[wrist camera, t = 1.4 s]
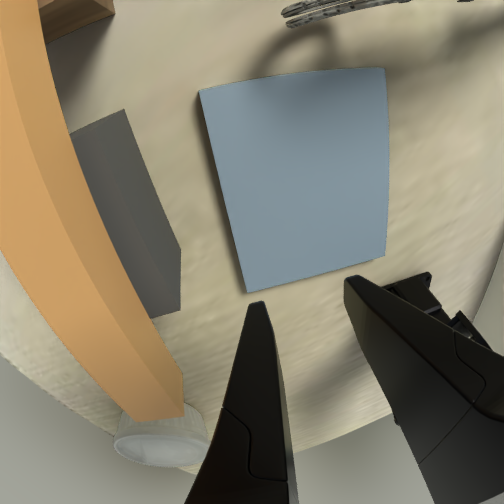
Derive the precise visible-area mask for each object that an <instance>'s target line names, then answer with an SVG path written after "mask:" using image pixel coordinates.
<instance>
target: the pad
mask: <svg viewBox="0 0 504 504" xmlns="http://www.w3.org/2000/svg"><path fill="white" fill-rule="evenodd" d="M199 95H200V99H201V103H202V108H203V112H204V116H205V121H206V125H207V129H208V133H209V138H210V142H211V146H212V150H213V155H214V159H215V163H216V167H217V171H218V176H219V180H220V184H221V188H222V192H223V196H224V200H225V205H226V209H227V213H228V217H229V221H230V225H231V229H232V233H233V237H234V241H235V245H236V249H237V253H238V257H239V261H240V265H241V269H242V273H243V277H244V281H245V285H246V289H247V293H250V292H254V291H258V290H262V289H266V288H270V287H273V286H277V285H281V284H285V283H289V282H293V281H296V280H300V279H304V278H308V277H311V276H315V275H319V274H322V273H326V272H330V271H333V270H337V269H341V268H344V267H348V266H351V265H355V264H358V263H362V262H365V261H369V260H372V259H376V258H379V257H383V256H385V250H386V237H387V222H388V201H389V124H388V104H387V89H386V77H385V68H378V67H366V68H344V69H330V70H318V71H308V72H299V73H290V74H283V75H276V76H269V77H263V78H257V79H251V80H245V81H240V82H235V83H230V84H225V85H220V86H216V87H211V88H207V89H202V90H199Z"/></svg>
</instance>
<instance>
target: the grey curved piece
mask: <svg viewBox="0 0 504 504" xmlns="http://www.w3.org/2000/svg"><path fill="white" fill-rule="evenodd" d="M336 1H338V2H336ZM348 1H352V0H342V1H340V0H305V1H302V2H299V3H296V4H293V5H290V6H288V7H286V8H284V9H283V10H282V12H281V15H283V17H284V18H287V17H292V16H295V15H299V14H302V13H306V12H310V11H313V10H317V9H321V8H324V7H328V6H332V5H336V4H340V3H344V2H348ZM409 1H411V0H356V1H352V2H348V3H344V4H340V5H337V6H333V7H329V8H326V9H323V10H319V11H316V12H313V13H310V14H306V15H303V16H300V17H297V18H294V19H292V20H289V21H287V22H286V24H289V25H287V27H289V28H295V27H298V26H301V25H305V24H308V23H311V22H314V21H318V20H321V19H325V18H328V17H332V16H336V15H340V14H344V13H348V12H352V11H356V10H360V9H365V8H370V7H375V6H380V5H385V4H391V3H397V2H398V3H405V2H409ZM470 1H473V0H459V1H457V2H470ZM332 2H334V3H332ZM329 3H330V4H329ZM325 4H327V5H325ZM321 5H323V6H321ZM317 6H319V7H317ZM314 7H315V8H314ZM310 8H311V9H310ZM290 23H291V24H290Z"/></svg>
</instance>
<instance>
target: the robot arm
mask: <svg viewBox="0 0 504 504" xmlns="http://www.w3.org/2000/svg"><path fill="white" fill-rule="evenodd" d="M431 278H432V275H431V274H430V273H429V272H425V273H422V274H419V275H416V276H413V277H410V278H407V279H404V280H401V281H399V282H396V283H393V284H389V285H386V286H383V287H380V286H378V285H376V284H374V283H373V282H371V281H369V280H367V279H365V278H364V277H362V276H360V275H354V276H350V277H347V278H345V280H344V304H345V308H346V310H347V313H348V315H349V318H350V320H351V323H352V325H353V328H354V331H355V333H356V336H357V339H358V341H359V344H360V346H361V349H362V351H363V353H364V355H365V357H366V359H367V361H368V363H369V365H370V367H371V369H372V371H373V373H374V375H375V377H376V378H377V380H378V382H379V384H380V386H381V388H382V390H383V392H384V394H385V396H386V398H387V400H388V402H389V404H390V407H391V409H392V412H393V415H394V421H395V423H396V424H397V425H398V426H400V427H401V429H402V431H403V433H404V436H405V438H406V440H407V442H408V444H409V446H410V448H411V450H412V453H413V455H414V457H415V459H416V461H417V464H418V466H419V469H420V470H421V473H422V475H423V478H424V480H425V482H426V484H427V487H428V489H429V491H430V494H431V496H432V498H433V501H434V503H435V504H504V356H502V355H500V354H498V353H496V352H494V351H493V350H492V349H491V347H490V346H489V344H488V343H487V342H486V340H485V339H484V338H483V337H482V335H481V334H480V333H479V332H478V331H477V329H476V328H475V327H474V326H473V325H472V323H471V322H470V321H469V320H468V319H467V318H466V316H465V315H464V314H463V313H462V312H461V311H460V310H459V311H458V312H457V313H456V314H455V315H456V316H455V317H454V318H452V319H450V318H449V316H448V315H447V314H446V313H445V311H444V310H443V309H442V305H441V304H440V302H439V301H438V300H437V299H436V297H435V296H434V295H433V294H432V293H431V291H430V290H429V287H430V283H431ZM469 336H470V339H469V338H468V337H469ZM222 407H223V408H221V411H220V415H219V419H218V422H217V426H216V429H215V432H214V435H213V438H212V441H211V444H210V446H209V449H208V451H207V454H206V456H205V459H204V461H203V463H202V465H201V468H200V470H199V472H198V474H197V477H196V479H195V481H194V483H193V486H192V488H191V490H190V492H189V494H188V497H187V499H186V501H185V503H184V504H299V500H298V492H297V483H296V475H295V467H294V458H293V450H292V442H291V435H290V427H289V419H288V411H287V404H286V396H285V388H284V381H283V375H282V370H281V365H280V360H279V355H278V350H277V345H276V340H275V335H274V331H273V327H272V324H271V321H270V318H269V315H268V312H267V309H266V306H265V303H264V301H258V302H254V303H251V304H249V306H248V309H247V313H246V317H245V321H244V325H243V329H242V332H241V336H240V340H239V344H238V348H237V352H236V355H235V359H234V363H233V367H232V371H231V374H230V378H229V382H228V386H227V389H226V393H225V397H224V401H223V404H222Z"/></svg>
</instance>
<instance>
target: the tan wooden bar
mask: <svg viewBox="0 0 504 504" xmlns="http://www.w3.org/2000/svg"><path fill="white" fill-rule="evenodd" d="M0 250H1V251H2V253H3V255H4V257H5V258H6V260H7V262H8V264H9V265H10V267H11V269H12V270H13V272H14V274H15V275H16V277H17V279H18V280H19V282H20V283H21V285H22V286H23V288H24V290H25V291H26V293H27V294H28V296H29V297H30V299H31V300H32V302H33V303H34V305H35V306H36V307H37V309H38V310H39V312H40V313H41V315H42V316H43V317H44V319H45V320H46V321H47V323H48V324H49V326H50V327H51V328H52V330H53V331H54V332H55V333H56V335H57V336H58V337H59V339H60V340H61V341H62V342H63V344H64V345H65V346H66V347H67V349H68V350H69V351H70V352H71V354H72V355H73V356H74V357H75V358H76V360H77V361H78V362H79V363H80V364H81V365H82V367H83V368H84V369H85V370H86V371H87V372H88V373H89V375H90V376H91V377H92V378H93V379H94V380H95V381H96V382H97V383H98V385H99V386H100V387H101V388H102V389H103V390H104V391H105V392H106V393H107V394H108V395H109V396H110V397H111V398H112V399H113V400H114V401H115V402H116V403H117V404H118V405H119V406H120V407H121V408H122V409H123V410H124V411H125V412H126V413H127V414H128V415H129V416H130V417H131V418H132V419H133V420H134V421H135V422H144V421H153V420H161V419H169V418H176V417H183V416H185V414H184V397H183V377H182V372H181V371H180V369H179V367H178V366H177V364H176V363H175V361H174V359H173V358H172V356H171V354H170V353H169V351H168V349H167V348H166V346H165V344H164V342H163V341H162V339H161V337H160V336H159V334H158V332H157V330H156V328H155V327H154V325H153V323H152V321H151V320H150V318H149V316H148V314H147V312H146V310H145V308H144V307H143V305H142V303H141V301H140V299H139V297H138V295H137V293H136V291H135V289H134V288H133V286H132V284H131V282H130V280H129V278H128V276H127V274H126V272H125V270H124V268H123V265H122V263H121V261H120V259H119V257H118V255H117V253H116V251H115V249H114V246H113V244H112V242H111V240H110V238H109V235H108V233H107V231H106V229H105V226H104V224H103V222H102V220H101V217H100V215H99V212H98V210H97V208H96V205H95V203H94V200H93V198H92V195H91V193H90V190H89V188H88V185H87V183H86V180H85V178H84V175H83V172H82V170H81V167H80V164H79V161H78V159H77V156H76V153H75V150H74V147H73V144H72V141H71V138H70V135H69V132H68V129H67V126H66V123H65V120H64V116H63V113H62V110H61V106H60V103H59V99H58V96H57V92H56V89H55V85H54V81H53V77H52V73H51V69H50V65H49V61H48V56H47V52H46V47H45V43H44V38H43V33H42V27H41V22H40V16H39V10H38V3H37V0H0Z"/></svg>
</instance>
